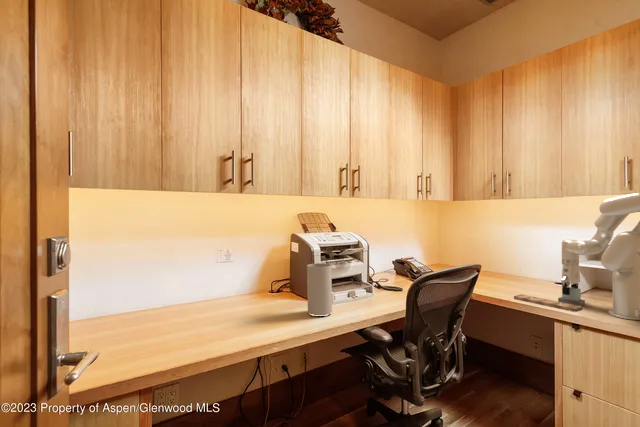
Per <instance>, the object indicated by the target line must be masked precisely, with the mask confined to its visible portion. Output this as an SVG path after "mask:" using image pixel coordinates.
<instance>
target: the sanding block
mask: <svg viewBox="0 0 640 427" xmlns="http://www.w3.org/2000/svg"><path fill="white" fill-rule="evenodd" d="M569 288H570V295H565V294H562V293H561V296H560V297H558V299H557V301H558V302H563V303H568V304H573V305H578V306H582V307H583V306H586V300H585V299H582V298H581V295H582V294H581V291H582V290H581V288H579V287H578V288H572V287H571V286H569Z"/></svg>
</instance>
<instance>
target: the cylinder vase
mask: <svg viewBox="0 0 640 427" xmlns="http://www.w3.org/2000/svg"><path fill="white" fill-rule="evenodd" d="M332 277H333V276H332V264H331V263H325V262H321V263H320V262H319V263H318V262H317V263H310V264H307V265H306V280H307V281H306V284H307V285H306V286H307V287H306V288H307V289H306V290H307V314H308V313H310V314H314V315H326V314H330V313H331V312H332V313H333V298H332V297H333V293H332V292H333V290H332V288H333V287H332V286H333V285H332V282H333V281H332V279H333V278H332Z"/></svg>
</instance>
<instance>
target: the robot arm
mask: <svg viewBox="0 0 640 427" xmlns="http://www.w3.org/2000/svg"><path fill="white" fill-rule="evenodd" d="M598 210H599V213H600V215H599V216H598V217H597V219H595V221H594V223H593V224H594V225H595V227H596V229H597V230H596V233H595V234H594V235H593V236H592V238H590V240H576V239H563V240H562V241H561V265H562V270H561V281H560V282H561V295H562V294H565V295H570V288H569V287H572V288H578V289H579V283H581V275H580V274H581V273H580V256H589V255H590V256H591V255H597V254H599V253H601V252H602V251H604V252H603V254H602V255H601V257H600V263H601V265H602V267H604V269H605V270H608V271H610V272H612V278H611V281H612V309H610V310H609V311H608V315H610V316H612V317H615V318H619V319H625V320H633V321H640V255H639V254H638V252H640V220H639V221H638V222H637V224H636V225H635V226H634V228H633V229H631V230H629V231H623V232H620V233H618V234H616V236H614V232H615V231H616V229H617V228H618V227H619V226H620V225H621V223H622V222H624V221H625V219H626V218H627V217H628V216H629V215H630V214H634V213H640V192H633V193H630V194H625V195H621V196H615V197H610V198H607V199H605V200H603V201H602V202H601V203H600V204H599V209H598ZM613 237H614V238H613Z"/></svg>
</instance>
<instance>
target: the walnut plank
mask: <svg viewBox="0 0 640 427" xmlns="http://www.w3.org/2000/svg"><path fill="white" fill-rule="evenodd" d="M513 299H514V300H519V301H521V302H527V303H532V304H537V305H542V306H545V307H550V308H555V309H560V310H565V311H569V310H570V312H574V311H576V312H578V311H581V310H583V306H578V305H573V304H568V303H563V302H558V300H551V299H546V298H543V297H536V296H532V295H526V294H517V295H514V296H513Z"/></svg>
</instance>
